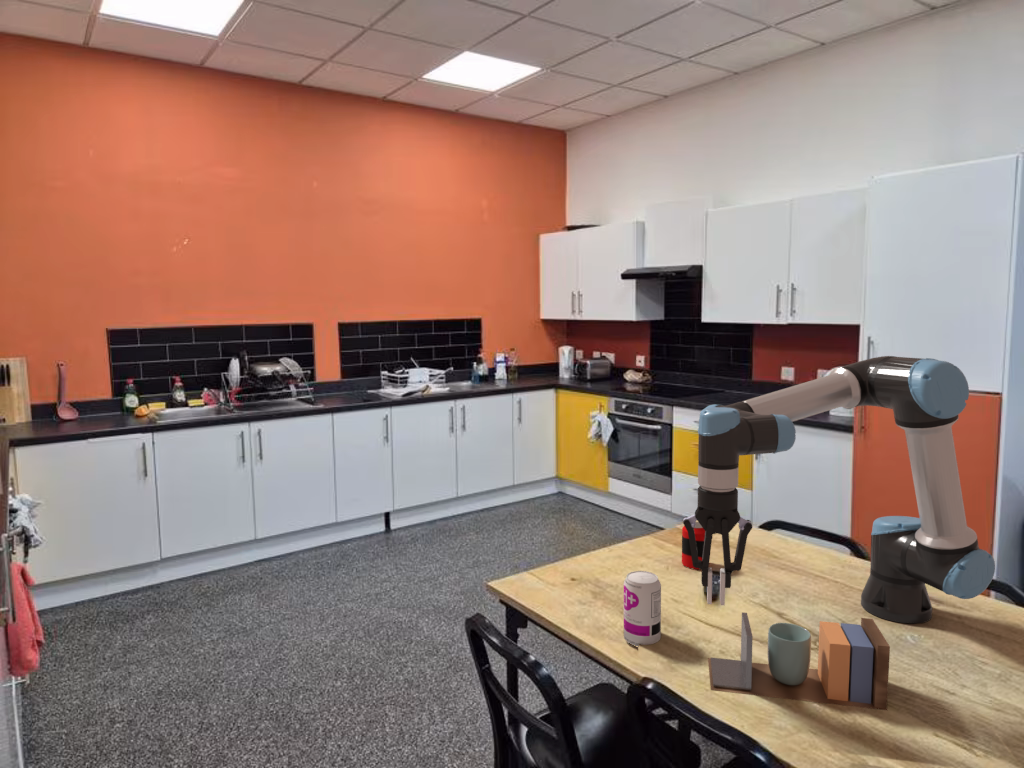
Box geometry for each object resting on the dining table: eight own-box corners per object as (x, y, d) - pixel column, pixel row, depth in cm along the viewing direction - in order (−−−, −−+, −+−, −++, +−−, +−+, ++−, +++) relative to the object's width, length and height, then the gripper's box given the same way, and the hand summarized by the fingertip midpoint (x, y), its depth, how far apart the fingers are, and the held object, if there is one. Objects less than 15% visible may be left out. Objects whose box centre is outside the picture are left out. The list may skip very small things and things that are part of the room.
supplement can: (633, 652, 145) (633, 586, 143) (617, 634, 153) (617, 572, 151) (667, 646, 147) (667, 581, 145) (649, 629, 155) (650, 567, 153)
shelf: (868, 680, 132) (871, 617, 131) (887, 716, 121) (890, 647, 119) (707, 663, 140) (708, 603, 138) (710, 695, 128) (711, 630, 127)
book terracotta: (836, 675, 132) (838, 622, 131) (848, 701, 124) (850, 645, 122) (817, 673, 133) (819, 621, 132) (827, 698, 124) (829, 643, 123)
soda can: (676, 561, 195) (677, 522, 194) (699, 558, 198) (699, 519, 196) (690, 571, 188) (691, 530, 187) (713, 567, 191) (714, 527, 189)
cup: (761, 681, 130) (762, 633, 129) (774, 664, 136) (775, 618, 135) (802, 695, 126) (804, 645, 124) (814, 677, 131) (816, 630, 130)
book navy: (857, 677, 131) (860, 624, 130) (870, 703, 123) (873, 647, 121) (838, 675, 132) (840, 623, 131) (850, 701, 123) (852, 645, 122)
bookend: (745, 663, 137) (746, 612, 136) (751, 690, 127) (752, 636, 126) (710, 659, 138) (711, 609, 137) (713, 686, 129) (714, 632, 128)
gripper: (755, 483, 131) (752, 597, 134) (678, 480, 135) (677, 590, 137) (760, 493, 124) (757, 613, 126) (678, 490, 127) (677, 606, 130)
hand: (715, 601), depth 132 cm, fingers open, 2 cm apart
